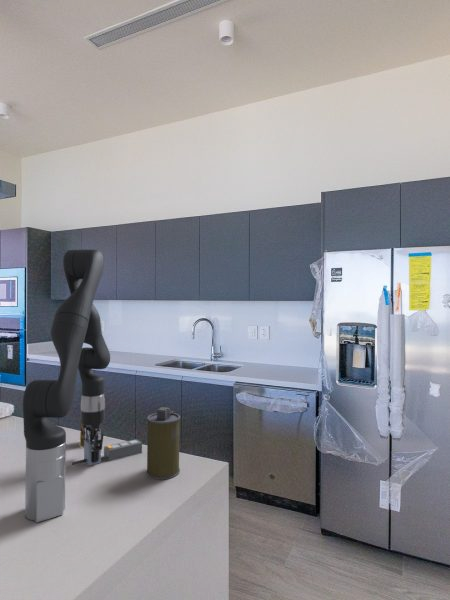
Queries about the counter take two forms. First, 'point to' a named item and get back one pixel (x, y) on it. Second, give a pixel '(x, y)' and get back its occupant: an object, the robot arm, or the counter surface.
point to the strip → (122, 449)
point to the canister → (163, 444)
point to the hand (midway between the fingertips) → (92, 459)
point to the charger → (88, 454)
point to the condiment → (81, 438)
